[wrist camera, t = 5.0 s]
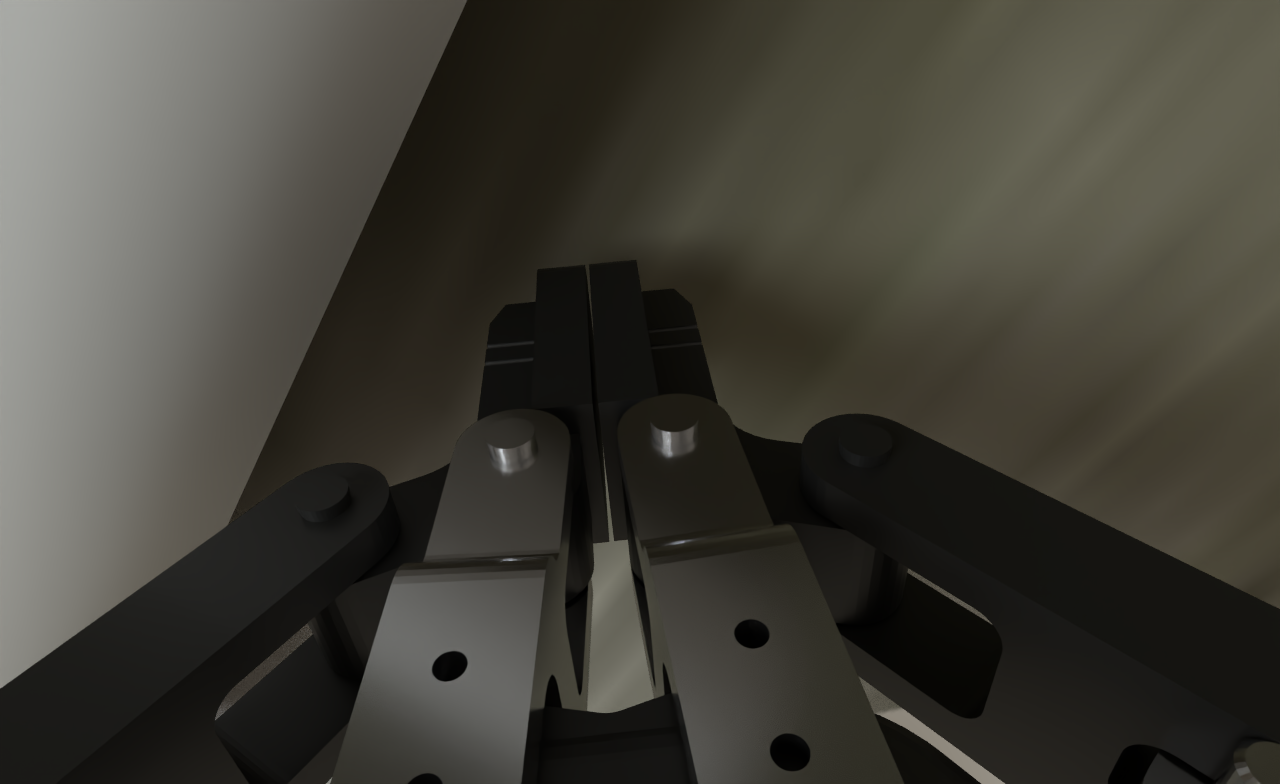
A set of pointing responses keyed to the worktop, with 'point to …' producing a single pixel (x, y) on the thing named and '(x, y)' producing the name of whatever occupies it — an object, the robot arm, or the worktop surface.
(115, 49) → the tube
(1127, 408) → the worktop surface
